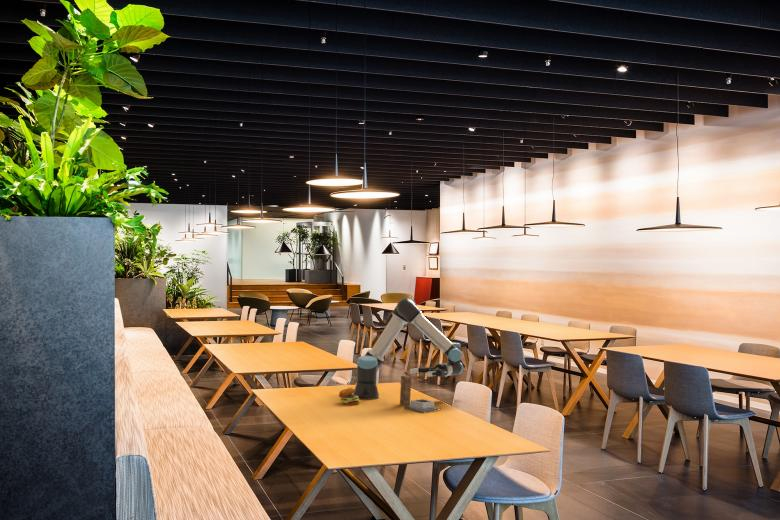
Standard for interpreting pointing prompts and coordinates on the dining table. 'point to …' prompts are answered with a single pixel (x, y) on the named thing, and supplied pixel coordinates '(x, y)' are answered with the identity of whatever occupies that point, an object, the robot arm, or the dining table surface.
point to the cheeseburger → (348, 397)
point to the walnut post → (405, 390)
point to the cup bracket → (421, 406)
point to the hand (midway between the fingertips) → (418, 372)
